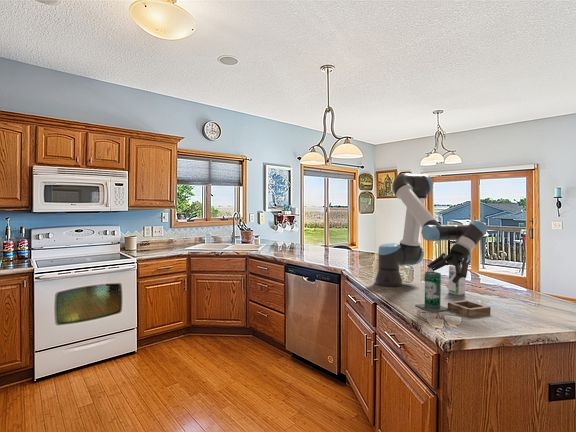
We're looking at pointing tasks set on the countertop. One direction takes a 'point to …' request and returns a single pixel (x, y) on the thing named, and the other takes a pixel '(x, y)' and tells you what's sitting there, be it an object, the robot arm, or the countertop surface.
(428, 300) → the can
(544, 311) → the countertop surface
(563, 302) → the countertop surface
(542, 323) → the countertop surface
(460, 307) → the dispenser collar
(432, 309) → the mat
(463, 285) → the syrup box
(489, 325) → the countertop surface
